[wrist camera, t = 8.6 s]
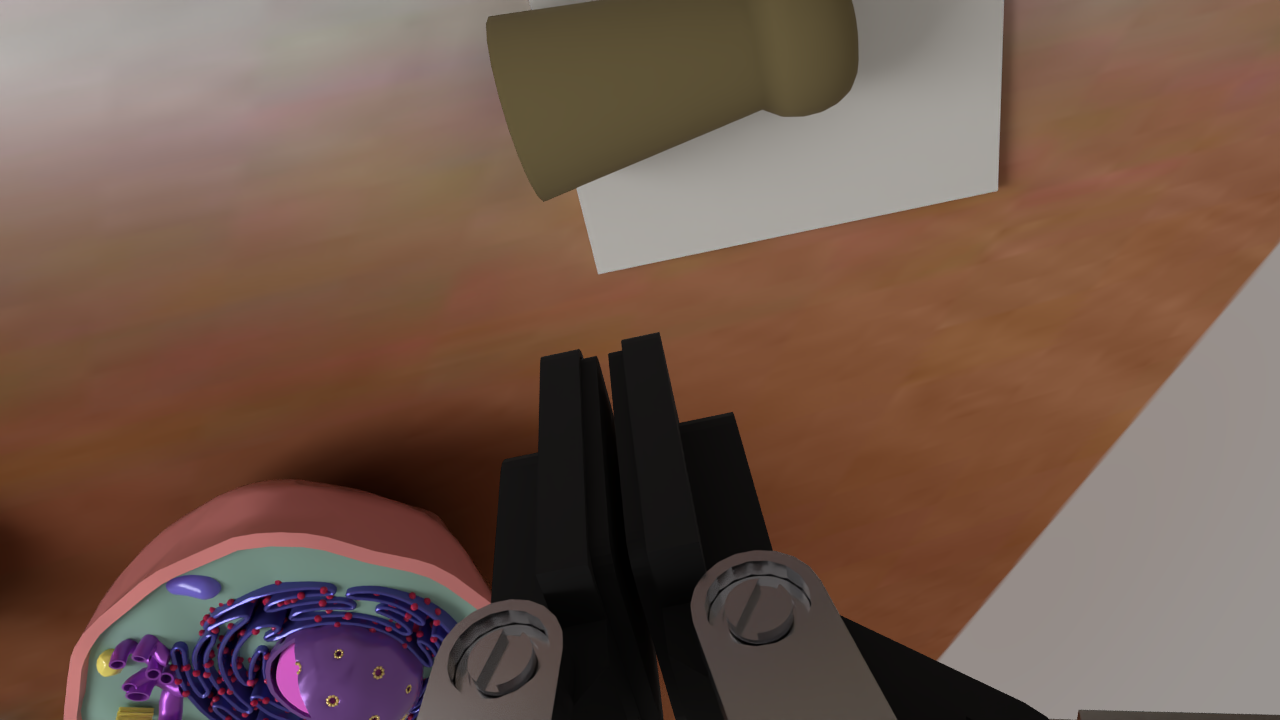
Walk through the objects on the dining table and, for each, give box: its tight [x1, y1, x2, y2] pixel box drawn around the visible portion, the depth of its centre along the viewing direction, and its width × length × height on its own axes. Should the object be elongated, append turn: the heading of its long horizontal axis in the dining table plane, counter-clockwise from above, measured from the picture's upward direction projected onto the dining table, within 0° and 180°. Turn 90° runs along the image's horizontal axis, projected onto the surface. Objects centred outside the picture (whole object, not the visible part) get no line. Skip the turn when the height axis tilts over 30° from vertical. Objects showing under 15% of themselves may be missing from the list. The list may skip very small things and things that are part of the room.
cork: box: [486, 0, 859, 202], centre depth 28 cm, size 6×6×11 cm
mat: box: [529, 0, 1004, 274], centre depth 31 cm, size 15×16×1 cm
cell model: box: [64, 479, 492, 720], centre depth 39 cm, size 17×20×11 cm
